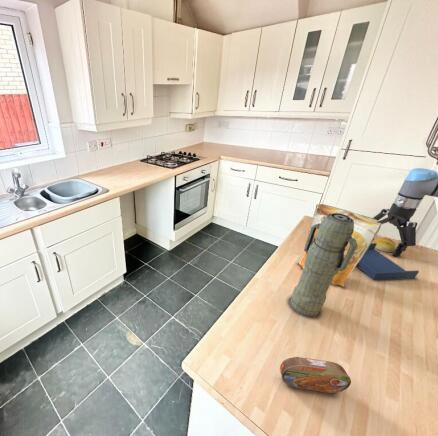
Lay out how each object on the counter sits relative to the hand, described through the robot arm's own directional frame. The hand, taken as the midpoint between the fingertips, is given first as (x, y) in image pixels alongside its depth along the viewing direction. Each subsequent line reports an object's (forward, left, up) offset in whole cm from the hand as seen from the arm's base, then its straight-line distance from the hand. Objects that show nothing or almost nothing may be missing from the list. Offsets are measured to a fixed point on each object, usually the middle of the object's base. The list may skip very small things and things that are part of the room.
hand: (382, 246), depth 112 cm
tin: (+70, +56, 0) cm, 90 cm away
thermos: (+56, +32, 0) cm, 65 cm away
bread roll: (0, 0, 0) cm, 0 cm away
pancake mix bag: (+40, +16, 0) cm, 43 cm away
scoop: (+19, +11, 0) cm, 22 cm away
